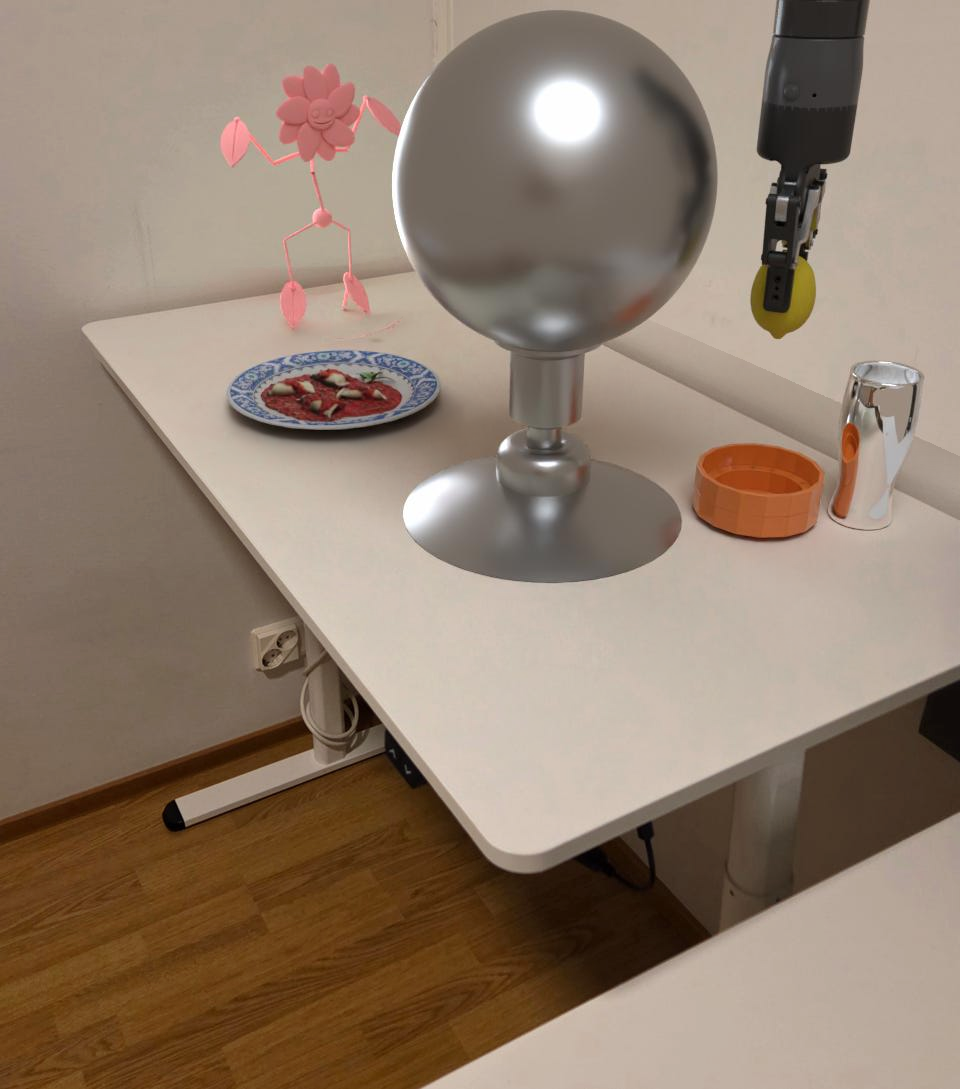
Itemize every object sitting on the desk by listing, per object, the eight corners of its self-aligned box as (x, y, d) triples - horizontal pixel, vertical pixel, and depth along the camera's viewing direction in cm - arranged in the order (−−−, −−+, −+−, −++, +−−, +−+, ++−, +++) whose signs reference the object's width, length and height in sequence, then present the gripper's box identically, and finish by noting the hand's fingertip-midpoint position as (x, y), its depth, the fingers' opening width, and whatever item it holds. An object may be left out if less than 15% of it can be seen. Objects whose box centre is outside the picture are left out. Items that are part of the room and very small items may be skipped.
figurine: (231, 326, 160) (203, 65, 143) (388, 299, 172) (379, 55, 155) (273, 356, 149) (247, 77, 132) (438, 325, 161) (434, 65, 144)
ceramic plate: (290, 464, 119) (288, 439, 118) (193, 393, 137) (190, 370, 136) (482, 411, 132) (482, 387, 131) (371, 352, 150) (370, 331, 149)
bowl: (793, 485, 115) (800, 441, 113) (834, 541, 105) (842, 494, 102) (680, 488, 114) (685, 444, 112) (709, 545, 104) (715, 497, 101)
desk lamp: (570, 617, 93) (601, 30, 71) (345, 516, 109) (313, 10, 87) (733, 504, 111) (798, 10, 89) (520, 432, 127) (531, -3, 105)
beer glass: (808, 514, 109) (833, 370, 102) (847, 493, 114) (873, 354, 106) (871, 539, 105) (901, 391, 98) (909, 517, 109) (941, 373, 102)
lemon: (733, 338, 99) (743, 249, 95) (770, 325, 102) (781, 238, 98) (785, 353, 96) (797, 261, 92) (821, 339, 99) (835, 250, 95)
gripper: (843, 111, 82) (811, 330, 90) (870, 88, 93) (839, 285, 102) (743, 105, 85) (721, 319, 93) (781, 84, 96) (758, 276, 104)
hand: (783, 300), depth 97 cm, fingers closed on lemon, 5 cm apart
